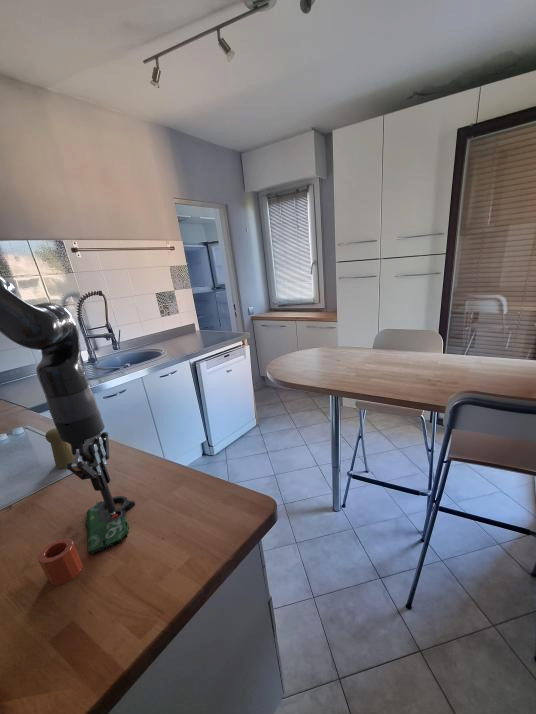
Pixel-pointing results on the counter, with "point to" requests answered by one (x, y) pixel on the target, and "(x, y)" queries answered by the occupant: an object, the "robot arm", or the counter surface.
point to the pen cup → (60, 561)
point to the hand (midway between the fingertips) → (103, 485)
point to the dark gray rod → (107, 497)
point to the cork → (59, 449)
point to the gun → (107, 525)
